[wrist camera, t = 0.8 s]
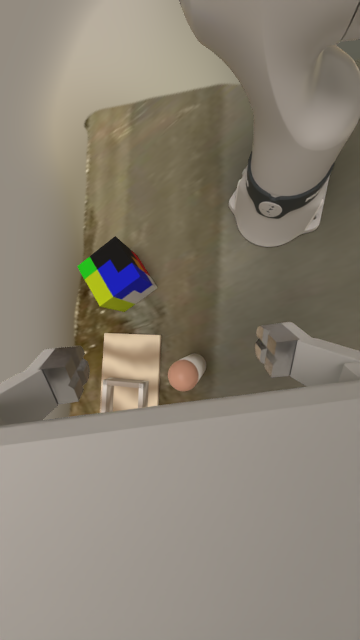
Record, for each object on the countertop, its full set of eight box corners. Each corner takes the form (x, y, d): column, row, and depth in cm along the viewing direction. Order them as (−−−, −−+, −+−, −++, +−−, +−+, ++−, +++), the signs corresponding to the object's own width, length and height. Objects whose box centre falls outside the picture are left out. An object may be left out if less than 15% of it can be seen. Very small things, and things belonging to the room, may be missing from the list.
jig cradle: (106, 333, 51) (96, 333, 47) (161, 335, 48) (155, 335, 44) (101, 426, 50) (90, 433, 46) (157, 434, 47) (151, 443, 43)
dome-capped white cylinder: (189, 349, 46) (171, 355, 32) (209, 359, 45) (201, 370, 31) (180, 370, 47) (159, 385, 32) (200, 380, 45) (188, 401, 31)
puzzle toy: (157, 288, 49) (140, 276, 40) (124, 312, 51) (99, 306, 41) (136, 255, 51) (115, 236, 41) (105, 279, 53) (77, 266, 43)
